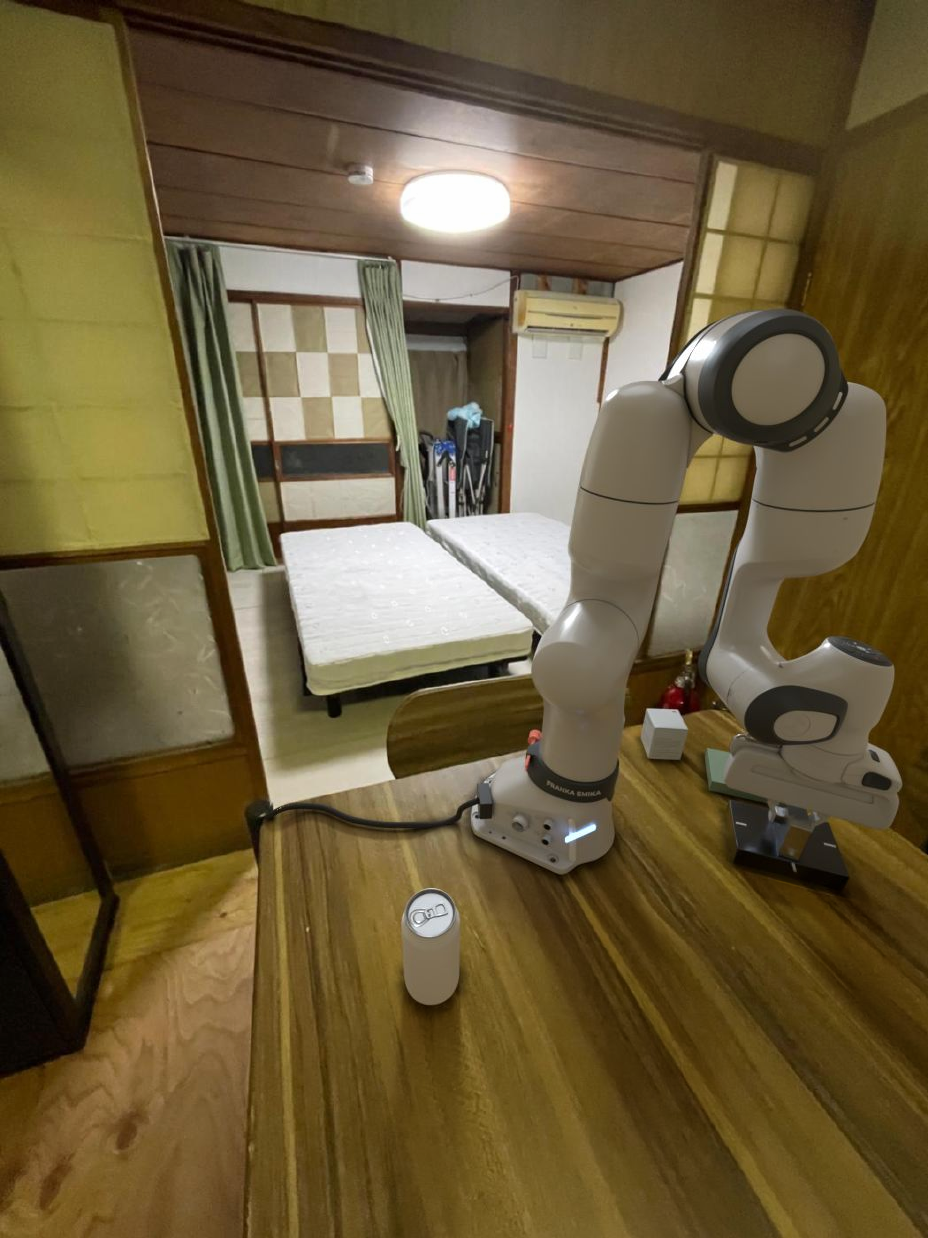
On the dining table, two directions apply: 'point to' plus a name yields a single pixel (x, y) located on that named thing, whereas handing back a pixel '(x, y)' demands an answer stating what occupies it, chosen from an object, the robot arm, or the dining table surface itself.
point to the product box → (663, 734)
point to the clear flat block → (792, 831)
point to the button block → (715, 776)
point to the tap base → (759, 849)
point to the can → (431, 946)
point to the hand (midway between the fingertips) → (789, 824)
